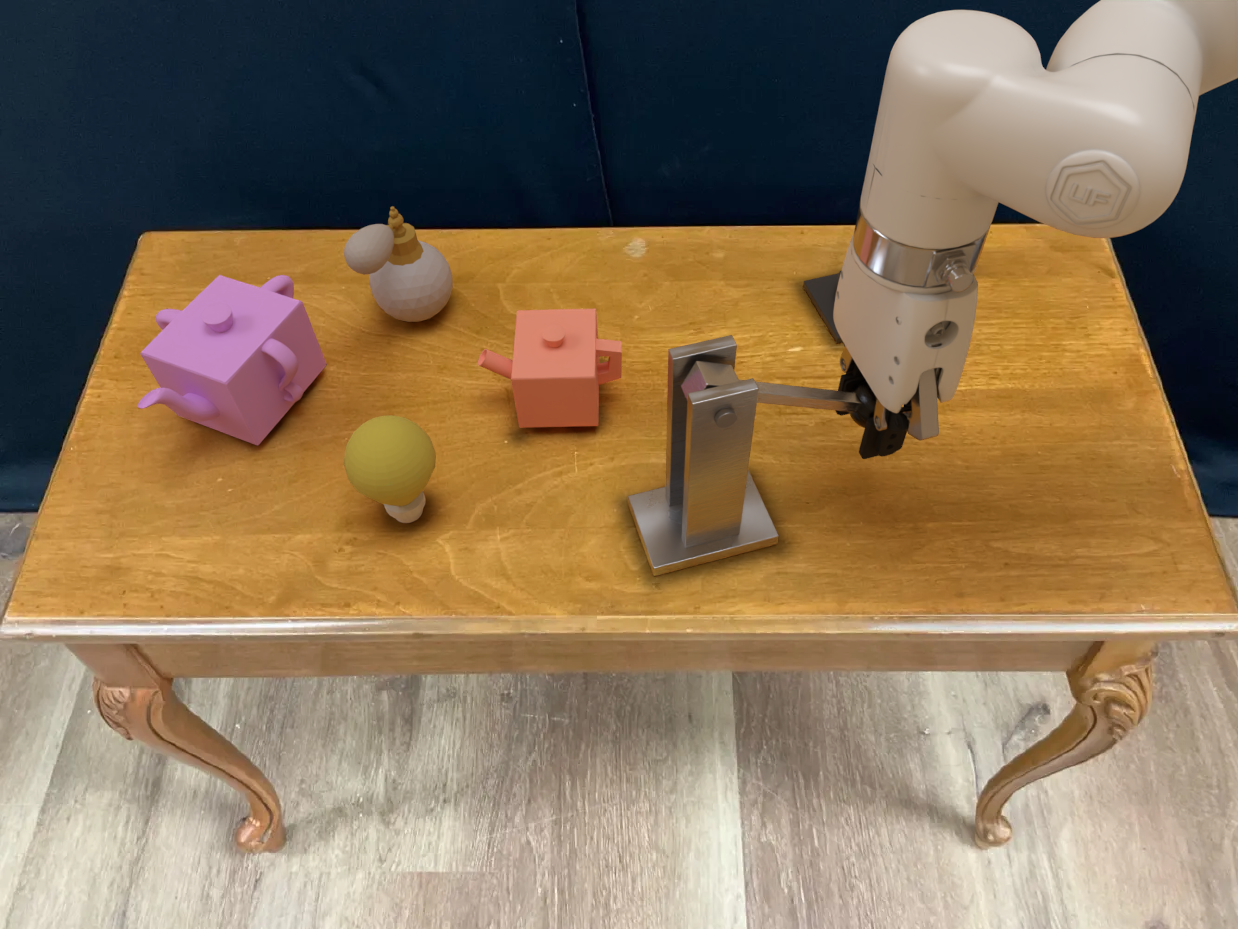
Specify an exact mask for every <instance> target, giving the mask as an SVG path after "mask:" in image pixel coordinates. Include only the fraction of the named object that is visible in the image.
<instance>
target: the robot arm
mask: <svg viewBox="0 0 1238 929" xmlns="http://www.w3.org/2000/svg"><path fill="white" fill-rule="evenodd" d="M1041 57H1042V56H1041V53H1040V50H1039V47H1038V45H1037V42H1036V40H1035V39H1034V38H1033V37H1032V35H1031V34H1030V33H1029V32H1028V31H1027V30H1026V29H1024V28H1023V27H1022V26H1021V25H1019V24H1017V23H1016V22H1014V21H1013V20H1011V19H1008V18H1007V17H1003V16H1001V15H997V14H995V13H990V12H986V11H981V10H975V9H974V10H973V9H951V10H943V11H937V12H935V13H931V14H928V15H926V16H924V17H921V18H919V19H917V20H915V21H914V22H912V23H911V24H909V25H908V26H907V27H906V28H905V29H904V30H903V31H902V32H901V33H900V35H899V36H898V37H897V39H896V41H895V42H894V44H893V46H892V48H891V51H890V54H889V58H888V62H887V65H886V68H885V69H886V70H885V73H884V74H885V75H884V80H883V85H882V90H881V94H880V99H879V105H878V111H877V115H876V119H875V124H874V131H873V136H872V141H871V145H870V151H869V156H868V161H867V166H866V170H865V175H864V179H863V180H864V181H863V185H862V190H861V195H860V200H859V205H858V210H857V215H856V219H855V220H856V221H855V226H854V231H853V234H852V236H851V239H850V241H849V244H848V247H847V251H846V253H845V256H844V260H843V263H842V267H841V269H840V271H841V274H840V278H839V282H838V287H837V291H836V297H835V303H834V313H833V318H834V323H835V326H836V329H837V331H838V333H839V335H840V337H841V339H842V341H843V342H842V343H843V349H842V352H841V355H840V358H839V366H840V369H841V371H842V373H843V374H841V375H840V379H839V383H838V389H837V391H845V392H852V390H853V389H854V388H855V387H856V386H857V385H858V384H860V383H862V382H864V381H867V383H868V384H869V386H870V388H871V389H872V391H873V392H874V394H875V396H876V404H875V411H874V417H871V418H869V419H868V420H867V421H866V425H865V428H864V430H863V433H862V437H861V441H860V445H859V449H858V454H859V456H860V457H861V459H862V460H868V459H871V458H875V457H887V456H891V455H894V454H895V453H896V452H898V451H900V450H901V449H902V448H903V446H904V442H905V439H906V437H907V435H909V436H910V437H913V438H914V439H916V440H917V441H924V440H928V439H934V438H937V437H938V436H939V435H940V425H939V423H940V422H939V407H938V404H939V403H941V404H942V403H946V402H949V401H952V399H953V398H954V396H955V394H956V393H957V390H958V387H959V384H960V381H961V378H962V375H963V373H964V369H965V364H966V361H967V358H968V355H969V354H968V353H969V350H970V346H971V341H972V337H973V332H974V328H975V322H976V316H977V315H976V314H977V307H978V306H977V305H978V297H979V296H978V294H979V282H978V280H977V278H976V276H975V274H974V273H975V272H976V270H977V267H978V265H979V261H980V258H981V255H982V252H983V250H984V247H985V244H986V241H987V238H988V235H989V232H990V229H991V226H992V222H993V220H994V217H995V214H996V211H997V209H998V208H997V207H998V205H999V203H1000V204H1002V205H1004V206H1006V207H1008V208H1010V209H1012V210H1014V211H1016V212H1018V213H1020V214H1022V215H1024V216H1026V217H1028V218H1030V219H1033V220H1035V221H1037V222H1039V223H1041V224H1043V225H1046V226H1048V227H1050V228H1053V229H1055V230H1058V231H1060V232H1064V233H1067V234H1071V235H1073V236H1080V237H1085V238H1092V239H1110V238H1111V239H1113V238H1118V237H1123V236H1128V235H1130V234H1133V233H1136V232H1138V231H1140V230H1143V229H1144V228H1146V227H1147V226H1149V225H1151V224H1153V223H1154V222H1155V221H1156V220H1158V219H1159V218H1160V217H1161V216H1162V215H1163V214H1164V213H1166V211H1167V209H1168V208H1169V207H1170V206H1171V204H1172V203H1173V202H1174V200H1175V198H1176V196H1177V194H1178V193H1179V191H1180V188H1181V186H1182V183H1183V181H1184V177H1185V174H1186V170H1187V167H1188V166H1187V165H1188V159H1189V155H1190V147H1191V143H1192V142H1191V141H1192V135H1193V130H1194V126H1195V120H1196V115H1197V109H1198V103H1199V97H1200V96H1201V95H1204V94H1205V93H1207V92H1210V91H1212V90H1215V89H1217V88H1218V87H1221V86H1223V85H1226V84H1227V83H1230V82H1232V81H1234V80H1237V79H1238V0H1099V1H1098V2H1096V3H1095V4H1093V5H1091V7H1089V8H1088V9H1087V10H1085V12H1083V13H1082V14H1081V15H1080V16H1079V17H1078V18H1077V19H1076V20H1075V21H1074V22H1073V23H1072V24H1071V25H1070V26H1069V27H1068V29H1067V30H1066V31H1065V33H1064V34H1063V35H1062V36H1061V37H1060V39H1059V41H1058V42H1057V44H1056V46H1055V47H1054V49H1053V51H1052V54H1051V56H1050V57H1049V61H1048V63H1047V66H1046V67H1043V64H1042V58H1041ZM1045 68H1046V69H1045ZM938 401H939V403H938ZM834 411H835V413H836V415H838V416H840V417H841V416H846V415H850V414H849V412H846V411H836V410H834Z"/></svg>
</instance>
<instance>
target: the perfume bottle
mask: <svg viewBox="0 0 1238 929" xmlns="http://www.w3.org/2000/svg"><path fill="white" fill-rule="evenodd" d="M389 208H390V209H389V213H388V215H389V217H388V220H387V224H383V223H375V224H369V225H367V226H364V227H361V228H360V229H359V230H357V231H355V232H354V233H352V235H351V236H350V237H349V238H348V239H347V241H346V243H345V246H344V249H343V256H344V260H345V263H346V264H347V266H348V267H349V268H350V269H351V270H352V271H353V272H356V273H357V274H361V275H369V287H370V291H371V294H372V297H373V298H374V300H375V302H376V303H377V305H378V307H379V308H380V309H381V310H383V311H384V312H385V313H386V314H387V315H388V316H390V317H393V318H394V319H396V320H400V321H404V322H406V323H407V322H408V323H414V322H415V323H416V322H417V323H419V322H422V321H426V320H430V319H431V318H433V317H434V316H436V315H437V314H438V313H440V312H441V311H442V310H443V309H444V308H445V307H446V305H448V302H449V300H450V298H451V295H452V291H453V286H454V285H453V273H452V270H451V267H450V264H449V262H448V260H447V259H446V257H445V256H444V255H443V253H441V251H440V250H438V248H437V247H435V246H433V245H431V244H429V243H428V242H425V241H422V240H419V239H418V236H417V232H416V229H415V226H413V225H412V224H410V223H407V222H404V217H403V215H401V213H399V211H398V209H397V208H395V206H390V207H389Z"/></svg>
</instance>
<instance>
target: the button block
mask: <svg viewBox="0 0 1238 929" xmlns="http://www.w3.org/2000/svg"><path fill="white" fill-rule="evenodd" d="M840 274H841V270H839V272H838V273H834V274H829V275H825V276H820V277H815V278H811V279H806V280H804V281H803V284H802V287H803V289H804V290H805V292H806V294H807V296H808V297H809V299H810V301H812V303H813V305H814V308H815V309H816V310H817V312H818V314H819V315H820V317H821V319H822V322H823V323H824V324H825V326H826V327H827V329H828V331H829V332H830V334H831V336H832V338H833V339H834V341H835V343H836V344H841V343H843V341H842V339H841V337H840V335H839V333H838V331H837V329H836V326H835V323H834V318H833V313H834V303H835V297H836V291H837V287H838V282H839V278H840Z"/></svg>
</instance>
